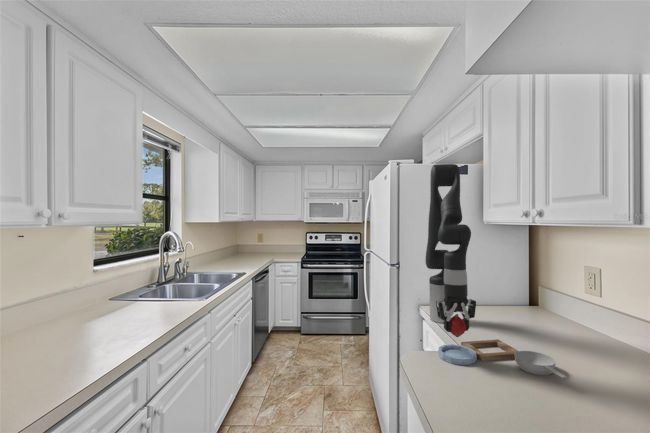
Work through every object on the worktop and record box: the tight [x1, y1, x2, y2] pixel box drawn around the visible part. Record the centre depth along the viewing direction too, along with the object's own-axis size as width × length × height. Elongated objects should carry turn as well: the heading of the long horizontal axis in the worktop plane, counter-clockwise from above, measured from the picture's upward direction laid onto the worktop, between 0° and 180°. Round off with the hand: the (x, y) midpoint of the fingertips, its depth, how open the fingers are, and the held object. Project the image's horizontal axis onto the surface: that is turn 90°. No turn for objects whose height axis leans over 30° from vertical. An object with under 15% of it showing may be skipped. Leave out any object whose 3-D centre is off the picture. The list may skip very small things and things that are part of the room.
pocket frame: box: [460, 339, 519, 362], centre depth 110 cm, size 12×15×2 cm
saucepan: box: [514, 350, 568, 379], centre depth 94 cm, size 11×18×4 cm, turn 0°
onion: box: [449, 313, 467, 338], centre depth 107 cm, size 6×6×8 cm
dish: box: [438, 343, 478, 366], centre depth 107 cm, size 12×12×2 cm
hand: (456, 330), depth 107 cm, fingers closed on onion, 6 cm apart
